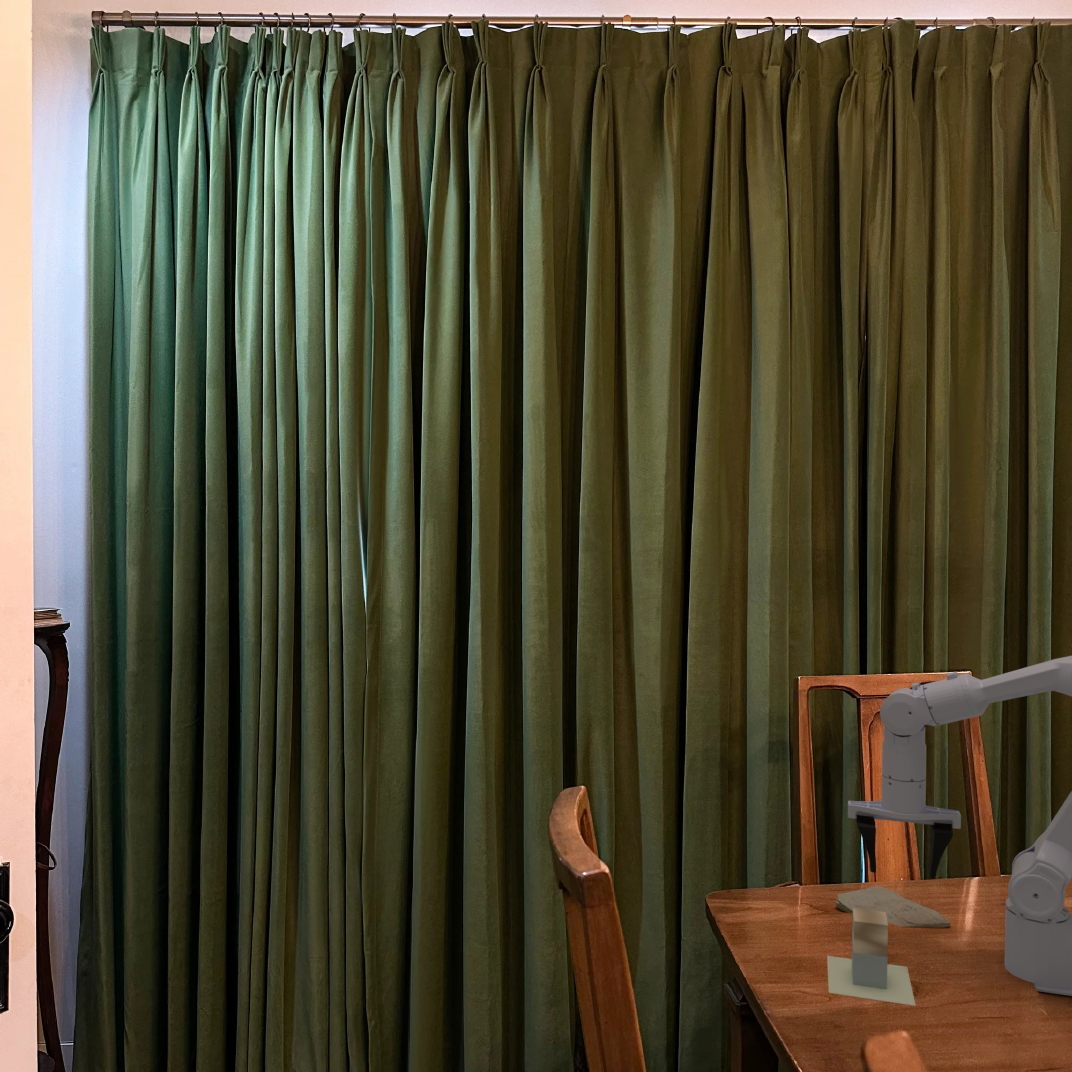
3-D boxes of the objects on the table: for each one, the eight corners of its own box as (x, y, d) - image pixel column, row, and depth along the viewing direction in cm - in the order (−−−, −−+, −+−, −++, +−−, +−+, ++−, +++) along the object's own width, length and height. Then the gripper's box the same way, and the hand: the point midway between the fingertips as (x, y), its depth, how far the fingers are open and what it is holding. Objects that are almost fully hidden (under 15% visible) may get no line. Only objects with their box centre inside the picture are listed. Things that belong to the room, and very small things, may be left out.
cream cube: (885, 942, 118) (885, 912, 118) (887, 957, 114) (888, 925, 114) (852, 938, 119) (852, 908, 119) (853, 952, 115) (854, 921, 115)
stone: (954, 937, 132) (955, 919, 132) (899, 950, 127) (900, 932, 127) (877, 897, 145) (877, 880, 145) (825, 907, 141) (826, 890, 141)
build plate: (906, 974, 120) (906, 966, 120) (915, 1013, 110) (915, 1005, 110) (826, 963, 122) (827, 955, 122) (828, 1000, 113) (828, 992, 113)
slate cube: (884, 974, 118) (884, 943, 117) (886, 989, 114) (887, 957, 114) (851, 969, 119) (852, 939, 119) (853, 984, 115) (853, 953, 115)
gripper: (956, 773, 129) (954, 868, 129) (847, 764, 133) (846, 856, 133) (964, 787, 122) (962, 888, 122) (849, 777, 126) (848, 874, 126)
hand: (902, 873), depth 127 cm, fingers open, 7 cm apart
